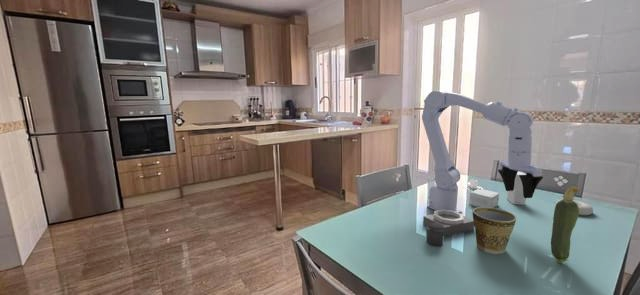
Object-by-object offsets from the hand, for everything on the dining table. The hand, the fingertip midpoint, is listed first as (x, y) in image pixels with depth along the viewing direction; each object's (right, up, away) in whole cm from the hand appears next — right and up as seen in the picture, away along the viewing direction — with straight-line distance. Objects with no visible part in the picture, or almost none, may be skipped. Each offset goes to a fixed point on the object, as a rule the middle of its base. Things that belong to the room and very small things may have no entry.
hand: (518, 194), depth 86 cm
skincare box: (+16, -7, +23) cm, 29 cm away
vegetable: (-2, -14, -17) cm, 22 cm away
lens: (-29, -13, -7) cm, 33 cm away
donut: (+30, -9, +14) cm, 34 cm away
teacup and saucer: (+12, -5, +42) cm, 44 cm away
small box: (+2, -8, +21) cm, 23 cm away
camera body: (-21, -11, +2) cm, 24 cm away
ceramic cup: (-14, -13, -9) cm, 22 cm away
